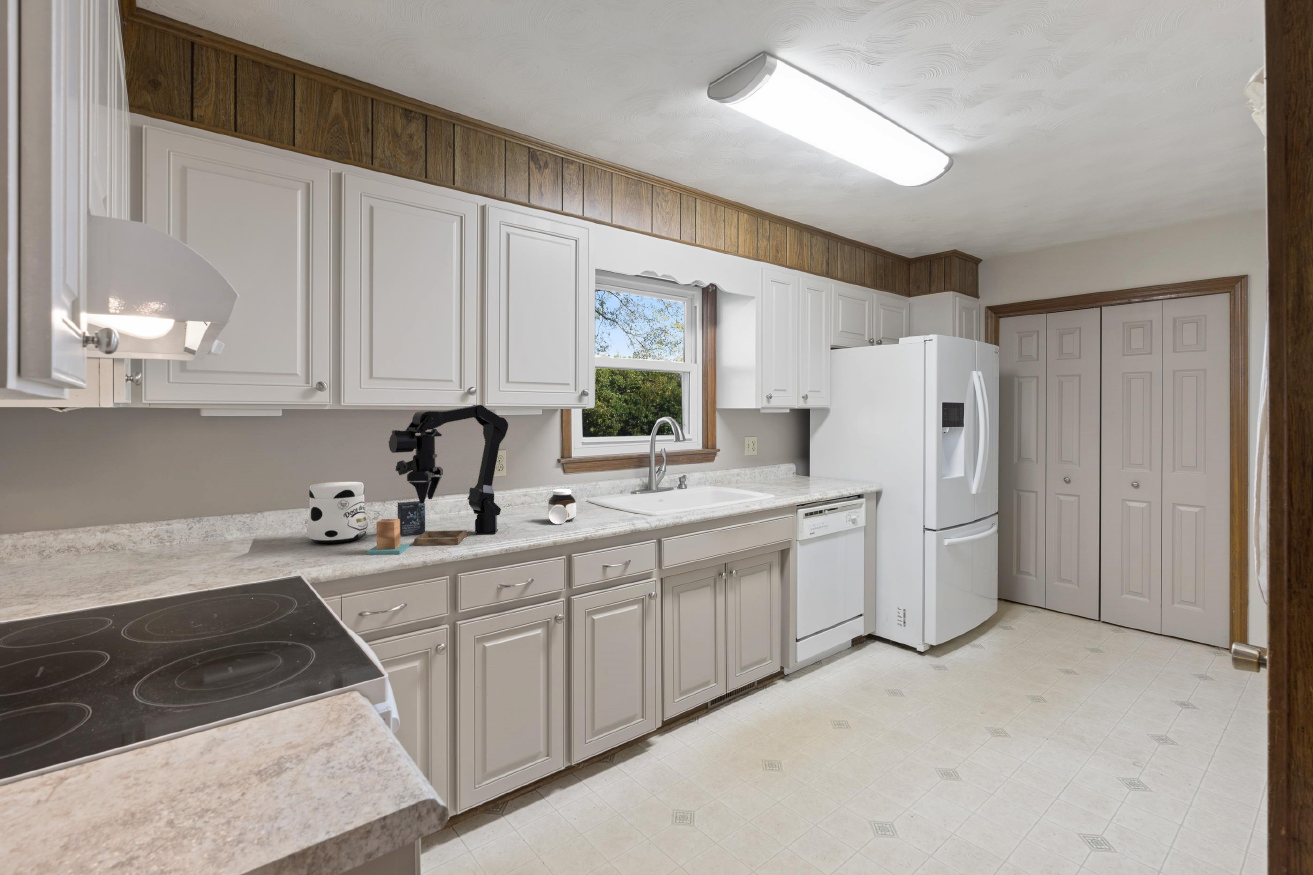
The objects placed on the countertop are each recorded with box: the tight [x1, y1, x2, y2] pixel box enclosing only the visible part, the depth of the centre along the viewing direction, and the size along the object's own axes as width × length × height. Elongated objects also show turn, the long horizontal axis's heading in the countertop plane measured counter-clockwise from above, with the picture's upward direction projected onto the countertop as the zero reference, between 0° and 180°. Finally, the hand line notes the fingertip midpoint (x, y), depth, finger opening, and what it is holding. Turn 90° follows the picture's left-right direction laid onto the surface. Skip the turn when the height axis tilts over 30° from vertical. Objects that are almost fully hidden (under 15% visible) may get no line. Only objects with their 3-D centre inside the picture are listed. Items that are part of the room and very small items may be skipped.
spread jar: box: [547, 488, 577, 525], centre depth 228 cm, size 12×11×12 cm
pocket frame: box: [413, 529, 468, 547], centre depth 195 cm, size 13×13×2 cm
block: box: [375, 518, 401, 550], centre depth 181 cm, size 5×5×8 cm
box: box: [397, 500, 426, 537], centre depth 207 cm, size 8×6×11 cm
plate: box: [366, 543, 410, 556], centre depth 181 cm, size 9×9×1 cm
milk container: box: [306, 481, 369, 544], centre depth 195 cm, size 17×17×18 cm
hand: (426, 501), depth 192 cm, fingers open, 9 cm apart
